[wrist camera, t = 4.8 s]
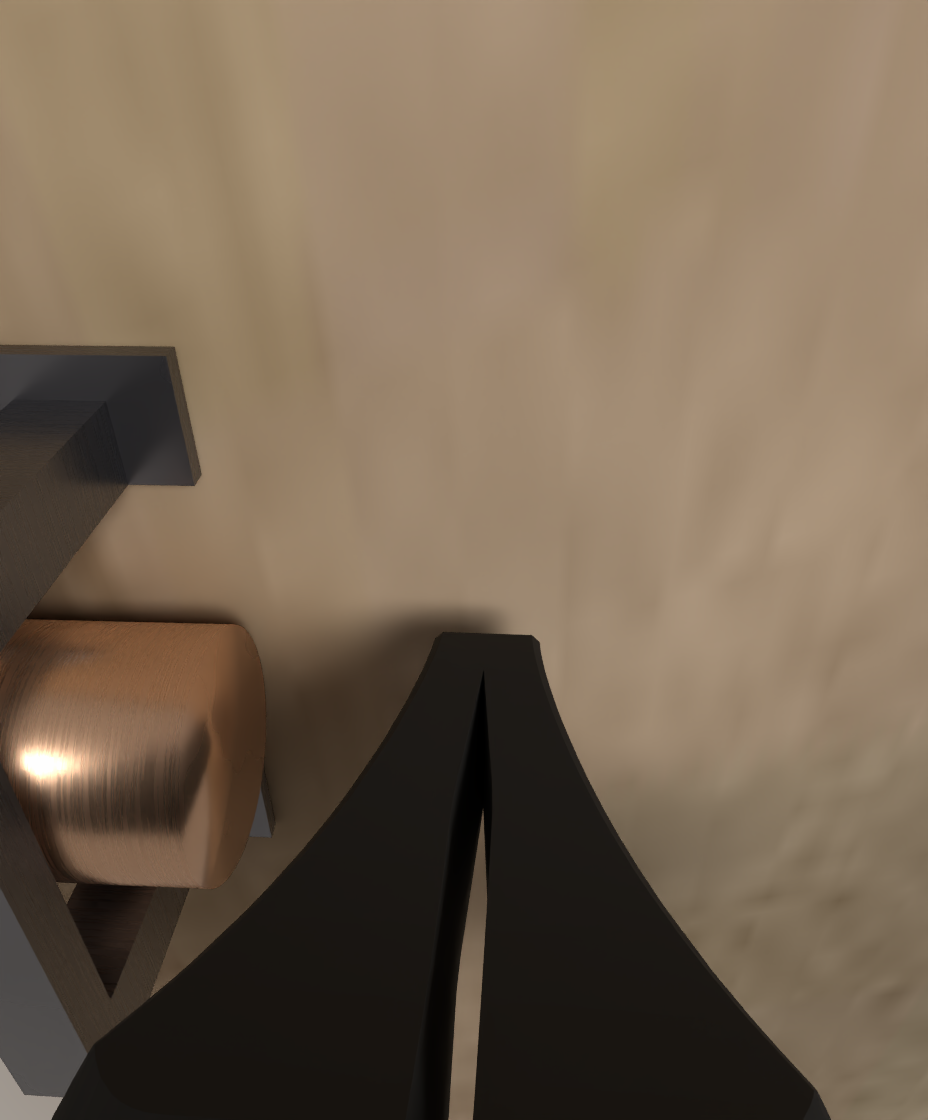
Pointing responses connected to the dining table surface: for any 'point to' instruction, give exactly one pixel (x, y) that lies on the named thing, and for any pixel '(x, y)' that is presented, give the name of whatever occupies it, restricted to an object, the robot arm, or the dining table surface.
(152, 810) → the tube
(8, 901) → the dark grey support bracket
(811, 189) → the dining table surface
